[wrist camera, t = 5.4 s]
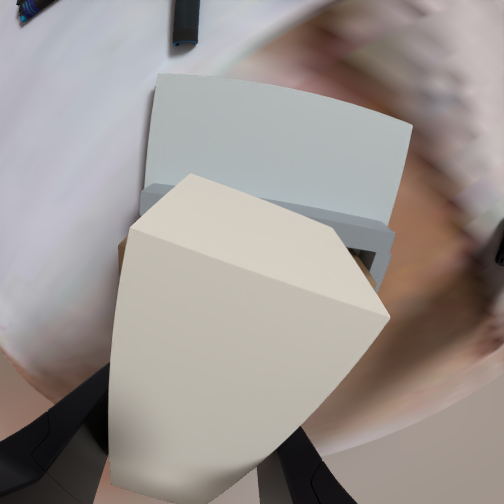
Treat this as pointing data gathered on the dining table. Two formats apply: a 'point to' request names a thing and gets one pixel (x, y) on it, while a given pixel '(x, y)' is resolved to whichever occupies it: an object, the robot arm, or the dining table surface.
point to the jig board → (282, 154)
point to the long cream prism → (226, 337)
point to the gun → (183, 19)
